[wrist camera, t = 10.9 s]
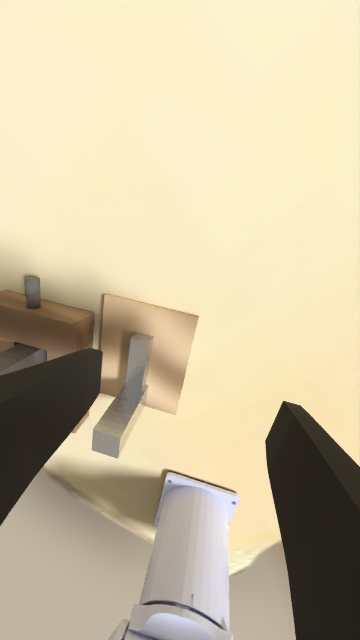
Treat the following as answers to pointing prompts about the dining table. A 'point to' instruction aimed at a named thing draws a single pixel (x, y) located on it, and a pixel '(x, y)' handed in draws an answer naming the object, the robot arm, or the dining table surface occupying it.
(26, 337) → the vise
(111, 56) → the dining table surface
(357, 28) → the dining table surface
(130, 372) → the grey l-shaped block
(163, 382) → the cork mat
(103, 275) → the dining table surface
